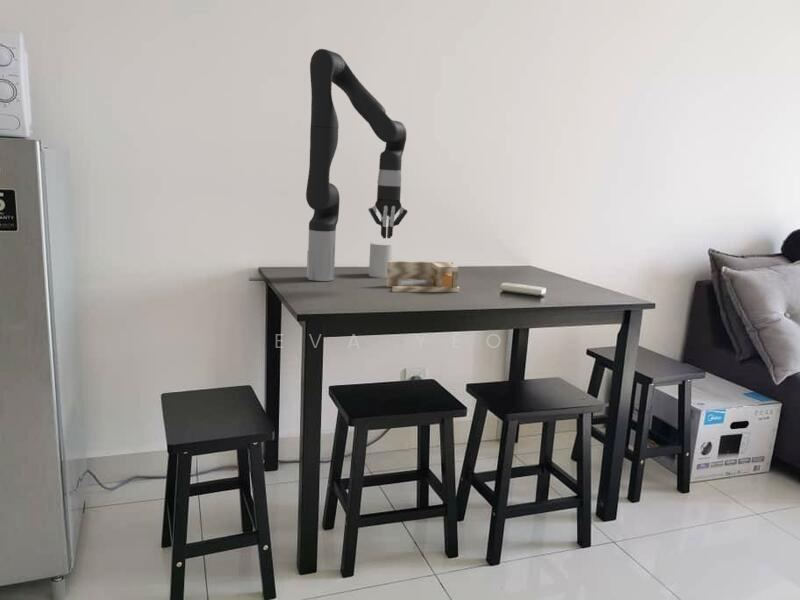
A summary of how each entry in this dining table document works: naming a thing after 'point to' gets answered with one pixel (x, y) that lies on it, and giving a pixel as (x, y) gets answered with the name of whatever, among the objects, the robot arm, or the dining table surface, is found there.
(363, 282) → the dining table surface
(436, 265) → the bridge channel
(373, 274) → the cup
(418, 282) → the grey long rectangular bar
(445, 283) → the block
